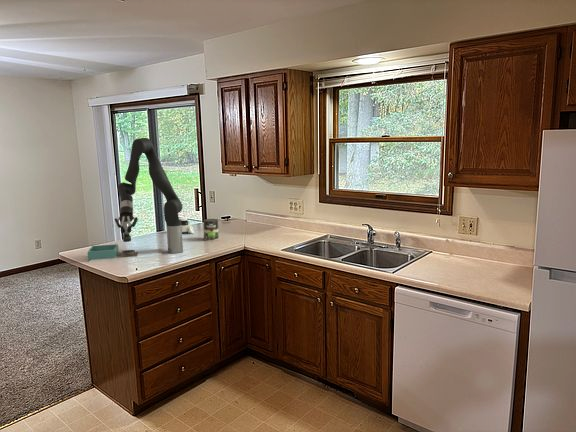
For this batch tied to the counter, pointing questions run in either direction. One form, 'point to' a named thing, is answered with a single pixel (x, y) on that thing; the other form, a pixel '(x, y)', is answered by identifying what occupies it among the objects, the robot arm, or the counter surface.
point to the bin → (103, 252)
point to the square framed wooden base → (127, 253)
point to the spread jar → (186, 226)
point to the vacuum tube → (126, 232)
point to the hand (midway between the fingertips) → (126, 232)
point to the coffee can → (211, 229)
